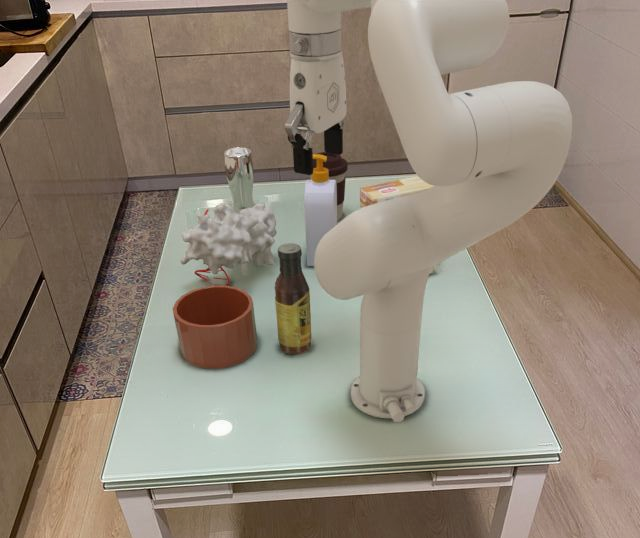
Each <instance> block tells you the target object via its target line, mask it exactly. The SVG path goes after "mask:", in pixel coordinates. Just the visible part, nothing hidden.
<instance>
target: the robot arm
mask: <svg viewBox="0 0 640 538" xmlns="http://www.w3.org/2000/svg"><path fill="white" fill-rule="evenodd" d="M286 5H287V6H286V7H287V24H288V25H287V27H288V43H289V44H288V45H289V57H290V69H289V70H290V71H289V116H288V117H287V120H285V123H284V130H285V132H286V135H287V140H288V142H289V143H290V147H291V148H292V159H293V171H294V173H295V174H300V175H306V176H310V175H312V174H313V155H314V154H313V147H311V143H312V140H313V137H314V133H315V134H317V135H318V134H322V133H323V146H324V147H323V149H324V152H326V153H332V154H338V155H340V156H341V155H343V153H344V130H343V128H344V126H345V120H344V119H345V117H346V116H347V112H348V111H347V107H348V106H347V105H348V104H347V102H348V101H347V100H348V99H347V98H348V93H347V84H346V83H347V81H346V70H345V62H344V56H343V50H342V12H348V11H353V10H361V9H368V8H370V16H369V18H368V24H367V44H368V50H369V55H370V60H371V63H372V66H373V70H374V73H375V76H376V80H377V82H378V84H379V87H380V90H381V92H382V95H383V98H384V101H385V103H386V106H387V108H388V111H389V114H390V116H391V119H392V122H393V124H394V127H395V130H396V132H397V135H398V138H399V140H400V143H401V146H402V149H403V152H404V154H405V156H406V159H407V161H408V163H409V165H410V167H411V168H412V171H414V173H415V174H416V176H419V177H420V178H421V179H422V180H423V181H425V182H426V183H428V184H430V185H434V186H433V187H432V188H430V189H428V190H426V191H423V192H420V193H415V194H410V195H406V196H402V197H398V198H395V199H391V200H387V201H383V202H379V203H376V204H372V205H369V206H366V207H363V208H361V209H360V208H358V209H357V210H354V211H352V212H351V213H349V214H348V215H347V216H346V217H344V218H343V219H342V220H341V221H339V222H337V225H336V226H335V227H333V228H332V229H331V230H330V231H329V232H327V233H326V234H325V235H324V236H323V237H322V239H321V240H320V242H319V244H318V246H317V248H316V252H315V258H314V266H313V268H314V273H315V277H316V279H317V281H318V284H319V285H320V287H321V288H322V289H323V291H324V292H325V293H326V294H327V295H329V296H330V297H333V298H334V299H336V300H341V301H345V300H351V299H356V298H358V297H361V296H362V299H361V304H360V319H359V321H360V322H359V323H360V325H359V326H360V327H359V376H358V377H357V378H355V380H354V381H353V382H352V384H351V386H350V399H351V401H352V403H353V405H354V406H355V408H357V410H360V411H361V412H362V413H364V414H366V415H369V416H372V417H375V418H380V419H392V421H393V422H394V423H396V424H397V423H401V422H403V420H404V419H405V417H406V416H410V415H411V414H414V413H415V412H417V411H418V410H419V409H420V408H421V407H422V405H423V404H424V401H425V398H426V397H425V396H426V390H425V386H424V384H423V383H422V382H421V380H420V379H419V378H418V371H419V370H418V369H419V368H418V367H419V356H420V346H421V331H422V322H423V321H422V319H423V309H424V299H425V294H426V293H425V292H426V287H427V283H428V281H429V276H430V275H431V274H430V270H431V267H432V266H434V267H435V266H437V265H440V264H441V263H443V262H445V261H446V260H448V259H450V258H452V257H453V256H455V255H456V254H459V253H460V252H462V251H465V250H467V249H468V248H470V247H473V246H474V245H476V244H478V243H480V242H481V241H483V240H484V239H485V240H486V238H488V237H490V236H492V235H494V234H496V233H498V232H500V231H501V230H504V229H506V228H507V227H509V226H510V225H512V224H513V223H516V222H517V221H518V220H520V218H523V217H524V216H525V215H526V214H527V213H529V212H530V211H531V210H533V209H534V208H535V207H536V206H537V205H538V204H539V203H540V202H541V201H542V199H544V198H545V197H546V195H547V194H548V193H549V192H550V190H551V189H552V188H553V187H554V185H555V183H556V182H557V180H558V178H559V176H560V174H561V172H562V171H563V168H564V166H565V163H566V160H567V158H568V155H569V150H570V148H571V142H572V134H573V115H572V110H571V107H570V104H569V102H568V100H567V99H566V98H565V96H564V94H563V93H562V92H561V91H559V90H558V89H556V88H555V87H553V86H551V85H550V84H547V83H543V82H539V81H533V80H517V81H516V80H515V81H507V82H501V83H495V84H492V85H491V84H490V85H487V86H481V87H475V88H472V89H467V90H461V91H457V92H451V93H448V90H447V88H446V84H445V82H444V80H443V77H442V75H449V74H455V73H460V72H463V71H468V70H471V69H474V68H476V67H478V66H480V65H483V64H485V63H486V62H487V61H489V60H490V59H491V58H493V57H494V55H495V54H496V53H497V52H498V51H499V49H500V48H501V47H502V46H503V44H504V42H505V40H506V38H507V35H508V32H509V27H510V10H509V6H508V3H507V1H506V0H286ZM301 133H302V134H305V137H303V136H302V134H301Z"/></svg>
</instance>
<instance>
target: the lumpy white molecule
mask: <svg viewBox="0 0 640 538" xmlns="http://www.w3.org/2000/svg"><path fill="white" fill-rule="evenodd" d="M254 204H255V205H254V206H253V207H252V208H247V209H242V210H241V211H240V213H239V214H237V213H236V212H235V210H234V208H233V207H232V205H230V204H226V203H224V202H221V203H219V204H217V205H215V206H214V207H213V213H214V218H213V217H211V216H210V215H208V212H209V211H210V210H209V208H207V209H206V210H205V212H204V213H201V212H199V213H198V214H197V215H196V216H197V224H195V226H194V227H189V229H188V230H187V231H183V232H182V233H181V237H182V241H183V243H188V244H187V250H186V251H185V253H184V254H185V255H184V256H183V257H181V259H180V264H181V265H183V266H184V265H186V264H187V263H189V262H190V261H192V260H195V261H199V260H202V261H203V265H206V266H207V268H206V269H197V270H195V271H194V275H196V276H197V277H199V278H200V279H202V280H204V281H205V282H207V284H209V285H212V283H211V282H210V281H208V280H207V278H209V276H208V275H205V274H202V273H206V274H213V275H218V274H219V272H223V273H224V275H225V277H226V278H221V277H212V279H214V280H224V281H227V283H226V285H225V286H230V281H231V280H230V277H229V274H228V273H227V272H226V270H225V269H224V268H223V267H226V268H228V269H229V270H234V268H235V264H239V265H242V266H243V265H245V264H249V262H252V261H253V263H254V264H255V266H256V267H258V268H260V267H262V265H265V264H266V265H269V266H274V265H275V260H274V258H273V257H274V256H273V252H272V249H271V248H272V246H273V245H274V244H275V241H276V240H275V239H274V238H275V237H276V235H277V233H278V232H277V229H276V226H277V219H276V216H275V212H274V211H273V210H270V209H269V208H266V205H265V204H264V203H254ZM265 208H266V209H265ZM217 285H218V286H224V285H223V284H217Z"/></svg>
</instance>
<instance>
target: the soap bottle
mask: <svg viewBox="0 0 640 538" xmlns="http://www.w3.org/2000/svg"><path fill="white" fill-rule="evenodd" d="M313 159H316V160H317V168H314V169H313V174H312V180H309V179H306V181H305V185H304V191H303V192H304V194H303V195H304V196H303V201H304V202H303V205H304V206H303V209H304V228H305V229H304V231H305V249H306V250H305V251H306V265H307V267H314V258H315V252H316V248H317V246H318V244H319V242H320V240H321V239H322V237H323V236H324V235H325V234H326V233H327V232H329V231H330V230H331V229H332V228H333V227H335V226H336V225H337V224H338V220H337V185H336V180H329V170H328V169H327V168H324V167H323V161H324V162H326V159H327V156H324V155H320V154H317V153H315V154H313Z"/></svg>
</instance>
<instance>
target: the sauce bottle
mask: <svg viewBox="0 0 640 538" xmlns="http://www.w3.org/2000/svg"><path fill="white" fill-rule="evenodd" d="M302 253H303V252H302V247H301V246H300V245H299V244H297V243H293V242H291V243H289V242H288V243H284V244H280V245H279V246H278V247H277V256H278V259H279V274H278V276H277V277H276V279H275V283H274V293H275V297H274V298H275V299H274V301H275V315H276V327H277V328H276V329H277V339H278V340H277V341H278V343H279V348H280V350H281V351H282V352H283V353H286V354H289V355H300V354H302V353H305V352H307V351H308V350H309V349H310V348H311V347H312V346H311V345H312V319H311V318H312V315H311V314H312V313H311V293H310V286H309V284H308V282H307V279H306V277H305V275H304V272H303V268H302V255H303V254H302Z"/></svg>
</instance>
